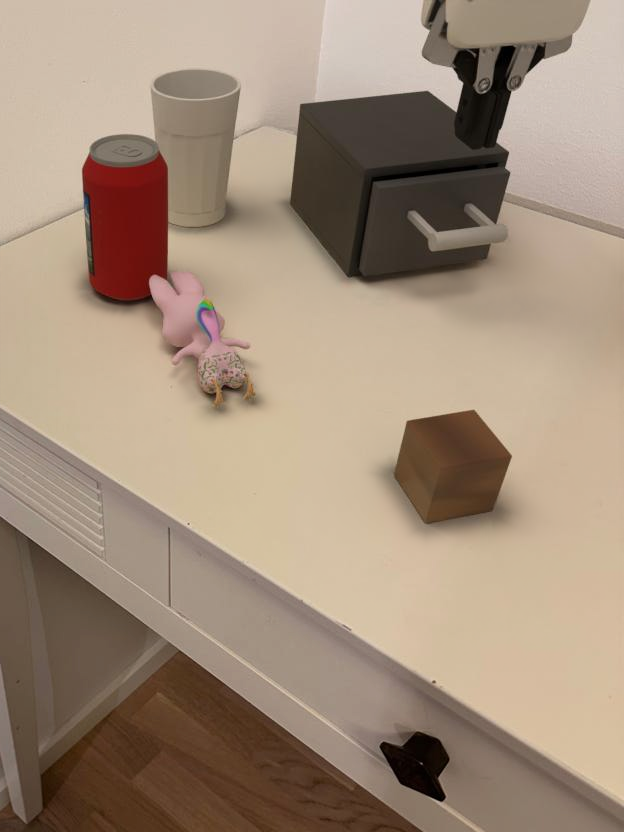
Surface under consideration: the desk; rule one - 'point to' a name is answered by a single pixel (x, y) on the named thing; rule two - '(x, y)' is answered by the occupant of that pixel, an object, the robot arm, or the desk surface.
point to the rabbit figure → (199, 333)
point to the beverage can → (125, 215)
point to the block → (451, 465)
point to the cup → (195, 140)
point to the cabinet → (369, 159)
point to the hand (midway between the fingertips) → (473, 141)
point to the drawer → (432, 218)
